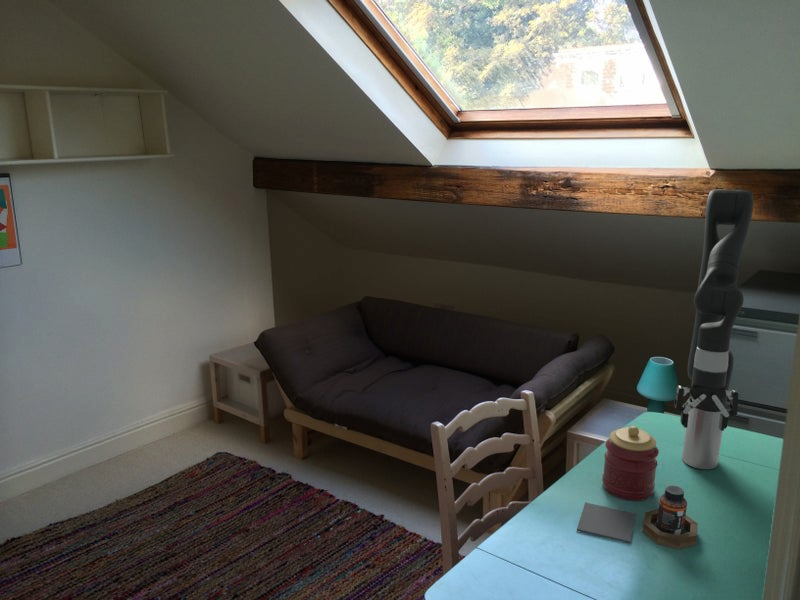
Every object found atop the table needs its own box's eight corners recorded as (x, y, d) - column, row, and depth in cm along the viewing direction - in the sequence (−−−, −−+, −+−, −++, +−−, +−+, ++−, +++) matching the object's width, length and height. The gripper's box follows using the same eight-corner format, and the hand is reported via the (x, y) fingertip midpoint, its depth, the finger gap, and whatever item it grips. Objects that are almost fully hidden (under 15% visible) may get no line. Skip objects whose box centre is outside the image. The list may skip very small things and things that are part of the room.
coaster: (584, 504, 173) (585, 502, 173) (635, 515, 168) (635, 513, 168) (576, 531, 162) (576, 528, 162) (630, 543, 158) (630, 541, 158)
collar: (645, 513, 169) (646, 504, 169) (696, 524, 165) (697, 515, 164) (641, 540, 159) (642, 531, 158) (695, 553, 155) (697, 543, 154)
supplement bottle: (685, 541, 159) (691, 498, 155) (658, 538, 160) (663, 495, 156) (680, 526, 164) (686, 484, 161) (654, 523, 165) (659, 481, 162)
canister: (664, 498, 175) (671, 436, 170) (617, 505, 173) (623, 441, 168) (637, 472, 188) (643, 413, 183) (592, 477, 185) (598, 417, 180)
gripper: (737, 363, 171) (729, 424, 175) (676, 359, 174) (669, 419, 177) (746, 373, 164) (737, 436, 168) (682, 368, 166) (675, 431, 170)
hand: (702, 428), depth 172 cm, fingers open, 8 cm apart
